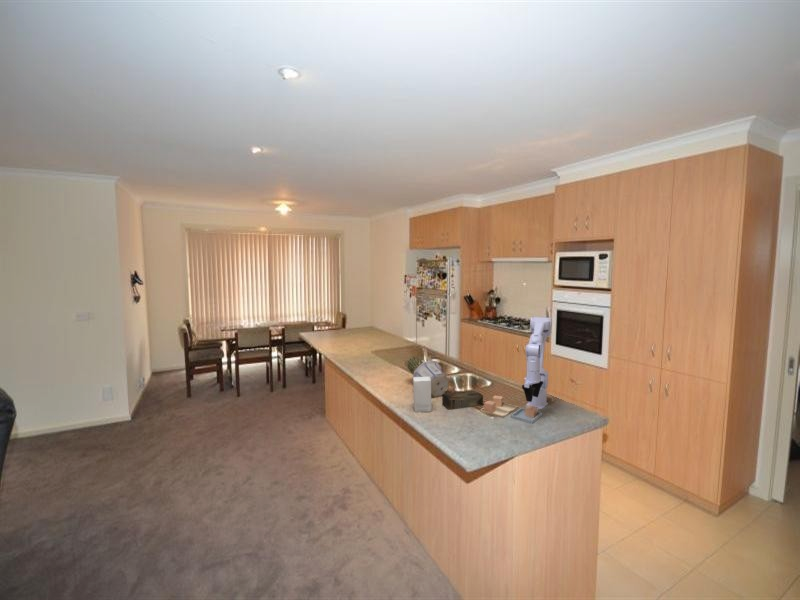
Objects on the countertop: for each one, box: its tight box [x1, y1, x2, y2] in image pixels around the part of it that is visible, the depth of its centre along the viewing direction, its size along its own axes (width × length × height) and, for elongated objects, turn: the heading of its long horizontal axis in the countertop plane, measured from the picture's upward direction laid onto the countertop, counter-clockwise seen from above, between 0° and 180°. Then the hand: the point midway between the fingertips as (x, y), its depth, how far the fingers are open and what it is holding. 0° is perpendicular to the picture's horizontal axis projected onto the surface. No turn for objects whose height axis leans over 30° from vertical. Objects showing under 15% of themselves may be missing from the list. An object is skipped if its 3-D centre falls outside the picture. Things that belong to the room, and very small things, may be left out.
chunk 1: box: [483, 400, 496, 413], centre depth 183 cm, size 4×4×4 cm
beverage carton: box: [441, 390, 484, 411], centre depth 191 cm, size 8×19×7 cm, turn 107°
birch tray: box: [479, 402, 519, 419], centre depth 185 cm, size 16×12×1 cm
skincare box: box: [412, 376, 432, 413], centre depth 186 cm, size 8×7×16 cm
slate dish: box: [509, 407, 543, 425], centre depth 177 cm, size 12×10×2 cm
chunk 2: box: [492, 394, 504, 407], centre depth 190 cm, size 4×4×4 cm
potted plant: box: [406, 356, 450, 398], centre depth 214 cm, size 18×18×30 cm
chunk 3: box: [524, 405, 538, 418], centre depth 178 cm, size 4×4×4 cm
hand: (532, 398), depth 177 cm, fingers open, 7 cm apart
